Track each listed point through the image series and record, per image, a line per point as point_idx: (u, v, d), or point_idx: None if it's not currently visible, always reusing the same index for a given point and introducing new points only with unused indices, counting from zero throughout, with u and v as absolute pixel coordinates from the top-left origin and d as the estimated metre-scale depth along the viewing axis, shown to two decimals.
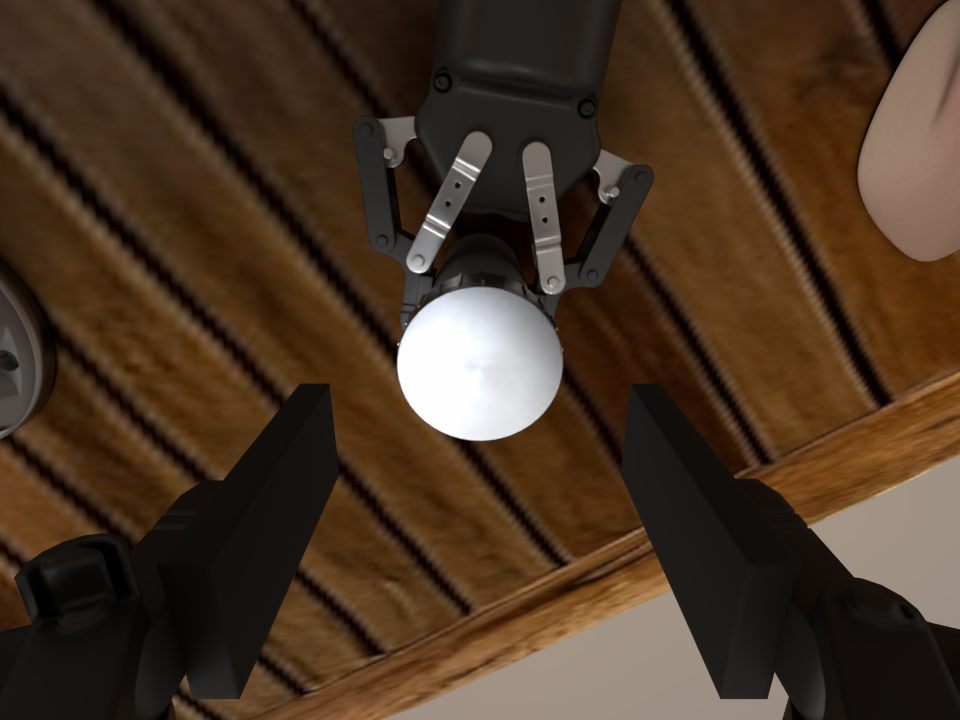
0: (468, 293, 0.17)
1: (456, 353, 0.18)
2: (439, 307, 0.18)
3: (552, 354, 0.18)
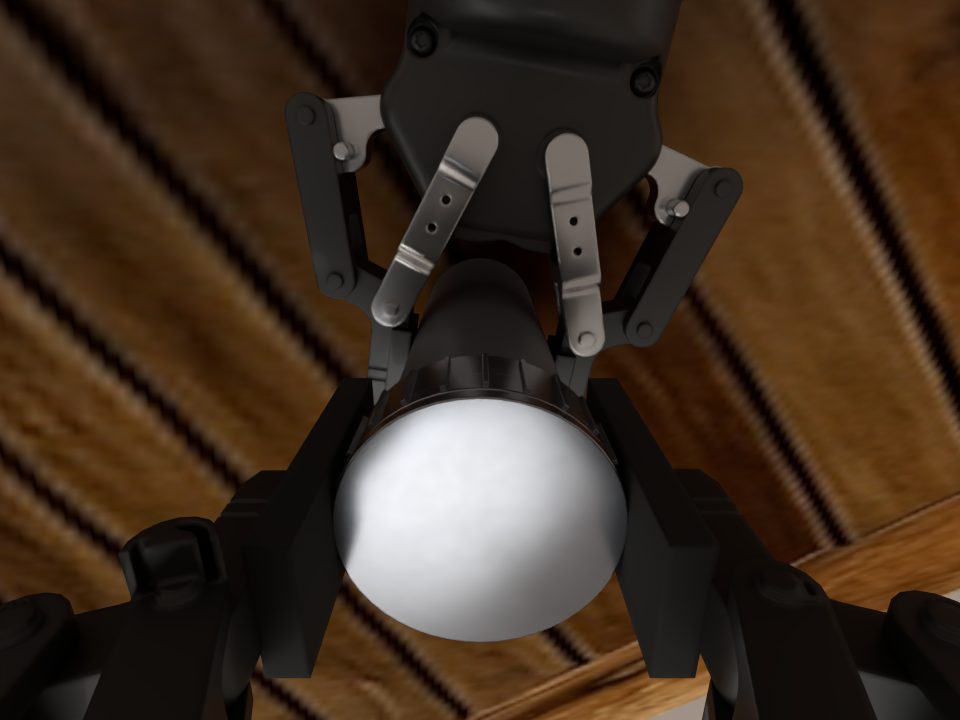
0: (458, 410, 0.09)
1: (438, 508, 0.10)
2: (405, 433, 0.10)
3: (610, 510, 0.10)
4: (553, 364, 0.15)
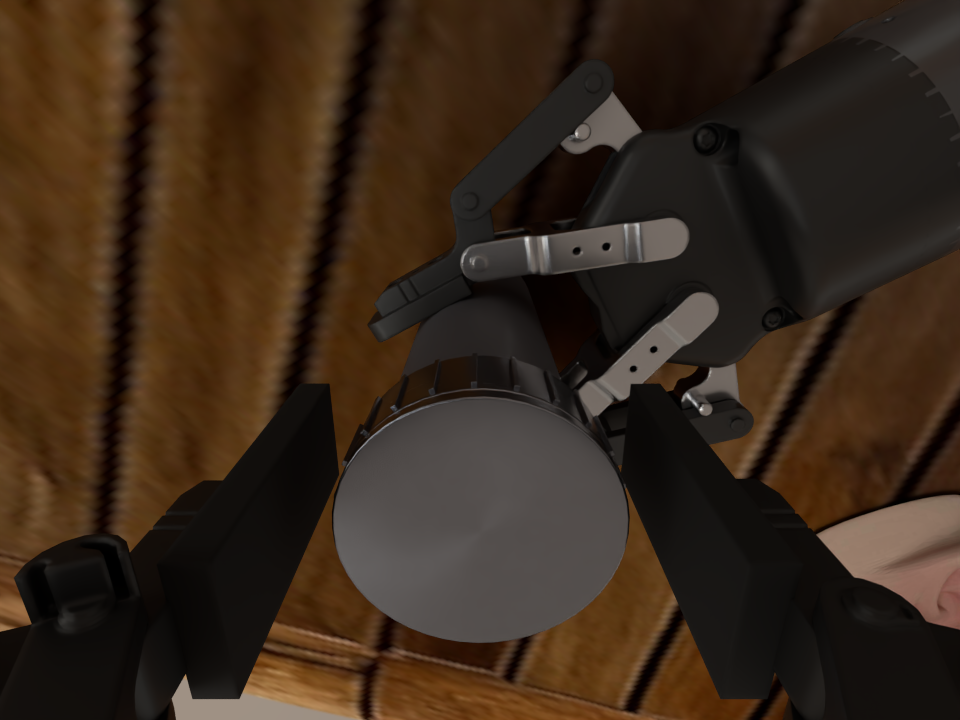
0: (378, 446, 0.10)
1: (431, 533, 0.10)
2: (355, 489, 0.10)
3: (575, 448, 0.10)
4: None
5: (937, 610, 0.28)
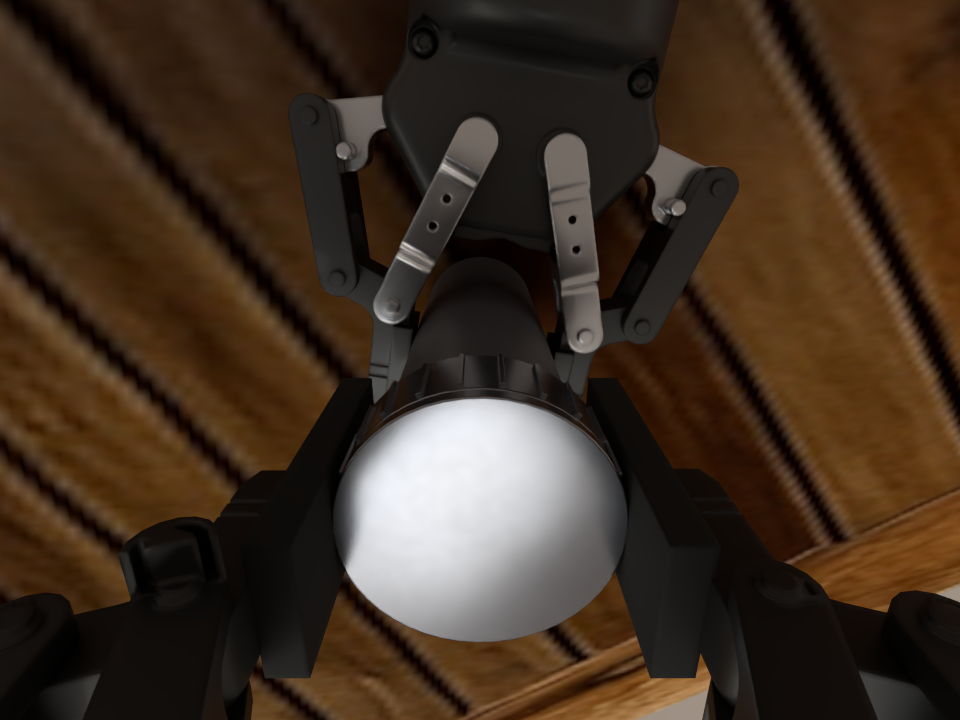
0: (344, 544, 0.10)
1: (452, 563, 0.11)
2: (371, 582, 0.11)
3: (457, 416, 0.09)
4: (552, 360, 0.15)
5: None
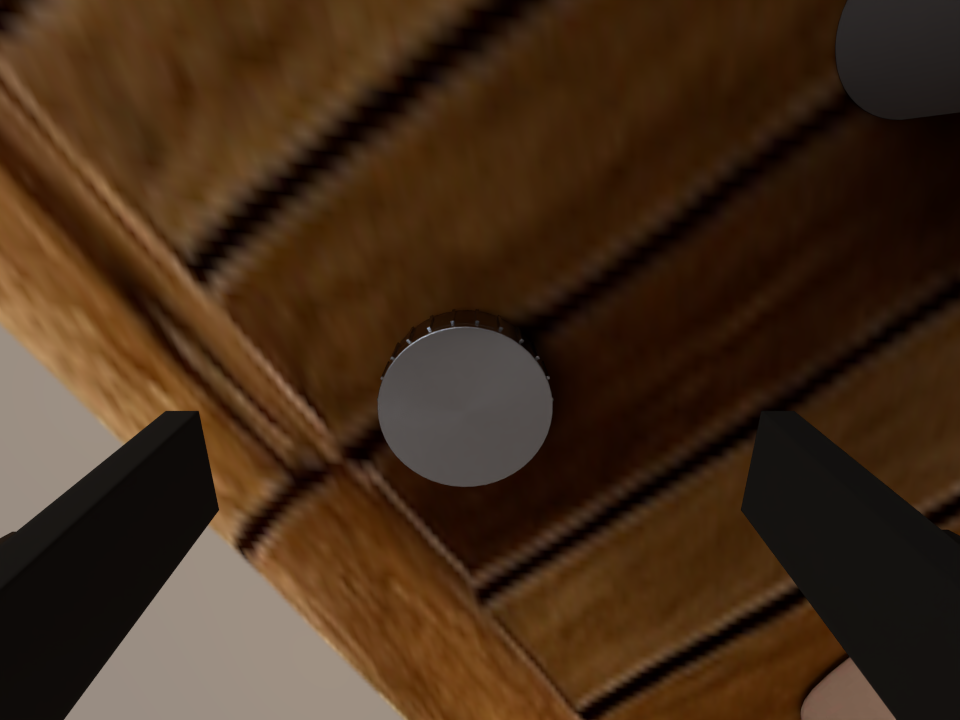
0: (385, 419, 0.18)
1: (448, 432, 0.18)
2: (400, 445, 0.18)
3: (451, 338, 0.17)
4: None
5: None
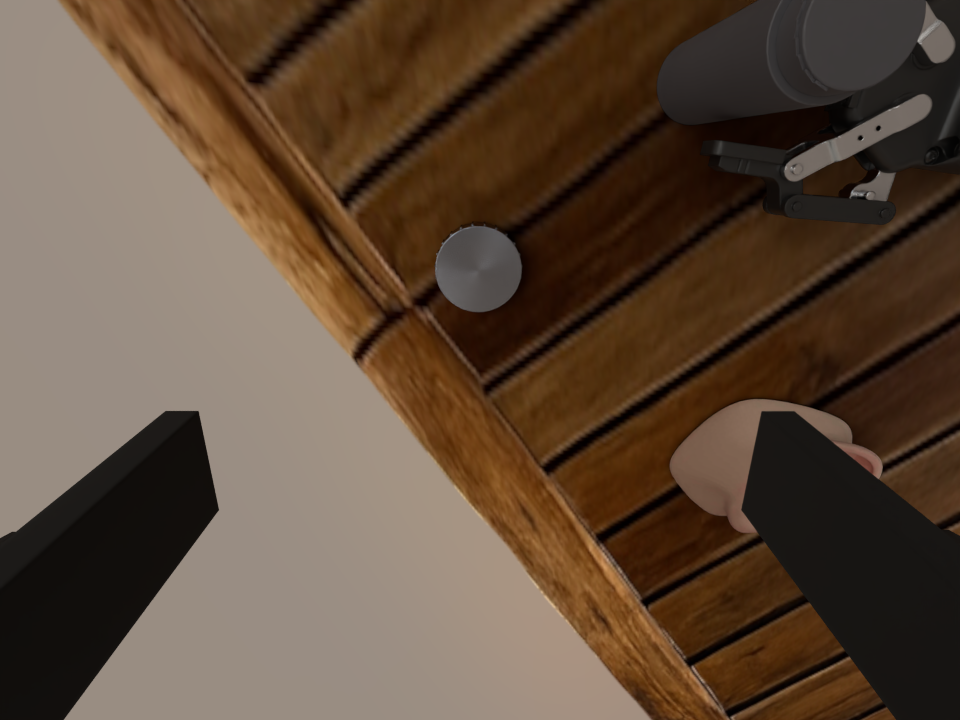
0: (438, 274, 0.36)
1: (470, 281, 0.36)
2: (445, 288, 0.36)
3: (472, 232, 0.35)
4: None
5: None
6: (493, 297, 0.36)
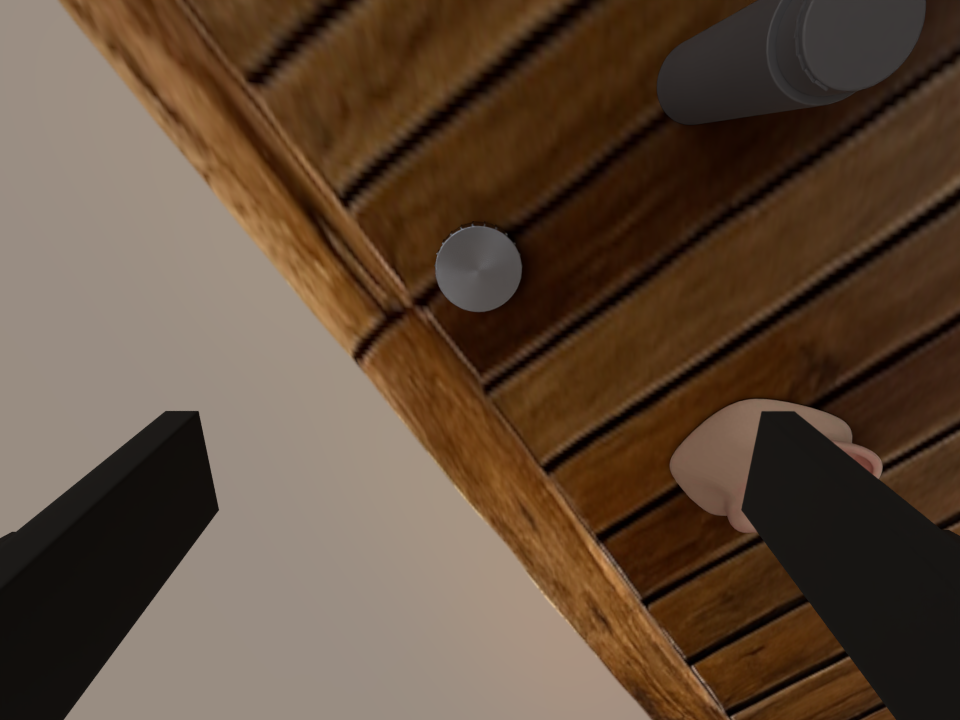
0: (438, 274, 0.36)
1: (470, 281, 0.36)
2: (446, 288, 0.36)
3: (472, 231, 0.35)
4: None
5: None
6: (493, 297, 0.36)
